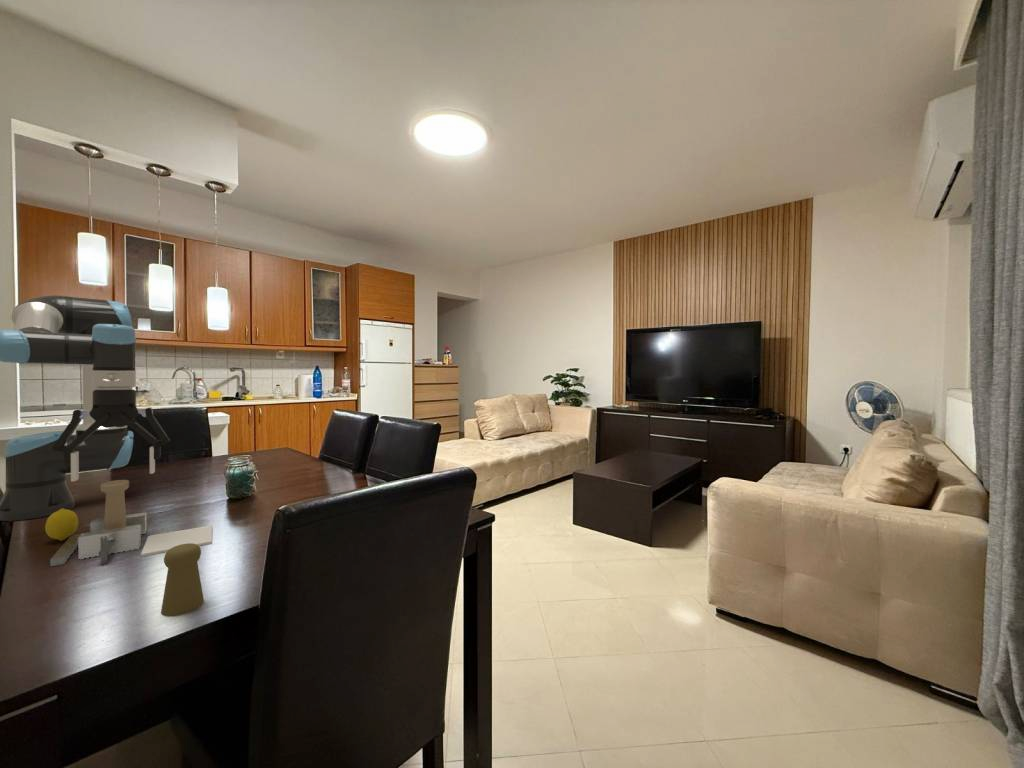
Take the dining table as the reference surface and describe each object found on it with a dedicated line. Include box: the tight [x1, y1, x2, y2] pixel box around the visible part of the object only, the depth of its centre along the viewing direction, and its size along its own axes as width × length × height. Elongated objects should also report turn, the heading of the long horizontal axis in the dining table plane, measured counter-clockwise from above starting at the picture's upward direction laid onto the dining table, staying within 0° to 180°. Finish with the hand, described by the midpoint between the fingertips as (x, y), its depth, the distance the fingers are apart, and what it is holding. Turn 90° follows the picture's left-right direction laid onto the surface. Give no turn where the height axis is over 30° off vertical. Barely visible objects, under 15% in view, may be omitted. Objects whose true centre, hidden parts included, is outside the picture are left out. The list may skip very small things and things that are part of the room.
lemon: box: [44, 508, 79, 542], centre depth 101 cm, size 6×6×8 cm
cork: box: [160, 543, 205, 617], centre depth 74 cm, size 6×6×11 cm
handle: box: [100, 479, 130, 530], centre depth 100 cm, size 5×6×15 cm
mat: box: [140, 524, 213, 557], centre depth 102 cm, size 13×13×1 cm
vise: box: [49, 512, 148, 567], centre depth 96 cm, size 21×14×7 cm, turn 36°
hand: (115, 476), depth 99 cm, fingers open, 13 cm apart
